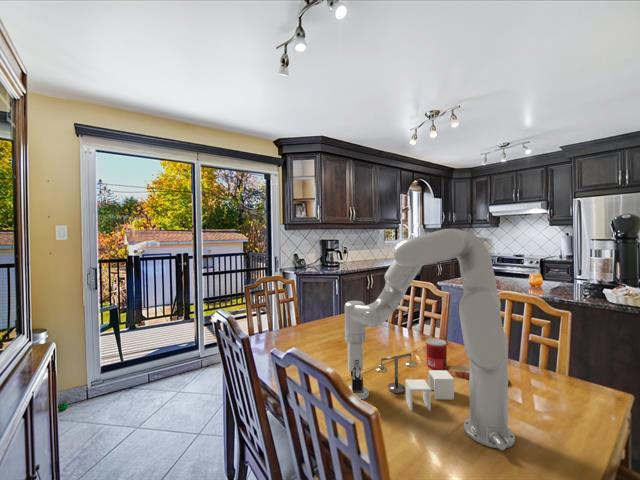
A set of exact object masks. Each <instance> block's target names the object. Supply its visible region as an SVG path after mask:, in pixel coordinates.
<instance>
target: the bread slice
mask: <svg viewBox="0 0 640 480" xmlns="http://www.w3.org/2000/svg"><path fill="white" fill-rule="evenodd" d="M447 371H448V373H449V374H450V375H451V376H452V377H454V378H455V377H456V378H459V379H463V380H468V381H469V376H470V365H461V364H460V365H459V364H457V365H453V366H449V367H448V368H447ZM508 385H510V380H508Z"/></svg>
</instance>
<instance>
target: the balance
mask: <svg viewBox="0 0 640 480" xmlns="http://www.w3.org/2000/svg"><path fill="white" fill-rule="evenodd" d="M406 357H410V358H412V353H405V354H400V355H394V356H387V357H382V358H380V363H379V364H378V365H376V366H375V369H374V370H375V371H376V372H377V373H380V374H381V373H383V374H384V373H387V372H388V367H387V366H385V364H383V363H382V362H383V361H387V360H389V361H390V360H394V362H393V363H394V382H391V383H389V384H387V387H388V388H387V389H388V391H389V392H390V393H392V394H398V395H400V394H404V393H406V385H405V384H404V385H403V384H402V383H401V382H399V359H400V358H406ZM404 365H405V366H406V367H408V368H417V366H418V362H417V361H414V360H405V361H404Z"/></svg>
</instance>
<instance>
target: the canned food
mask: <svg viewBox="0 0 640 480" xmlns="http://www.w3.org/2000/svg"><path fill="white" fill-rule="evenodd" d="M447 358H448V357H447V342H446V341H445V340H443V339H440V338H434V337H433V338H427V339H426V365H427V367H428V368H429V369H431V370H446V369H447V367H448V366H447V365H448V364H447V363H448V362H447Z"/></svg>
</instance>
